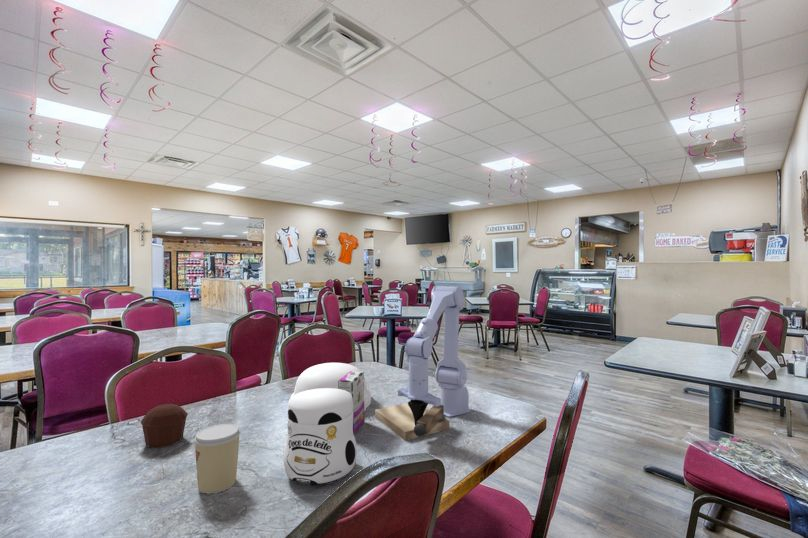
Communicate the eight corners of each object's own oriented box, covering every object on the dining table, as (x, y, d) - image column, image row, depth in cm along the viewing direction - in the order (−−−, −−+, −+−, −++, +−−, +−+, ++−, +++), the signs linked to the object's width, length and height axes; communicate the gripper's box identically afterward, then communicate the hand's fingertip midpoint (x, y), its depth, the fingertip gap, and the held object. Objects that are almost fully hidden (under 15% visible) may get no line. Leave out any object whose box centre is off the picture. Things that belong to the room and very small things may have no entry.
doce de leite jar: (287, 501, 77) (287, 415, 77) (280, 462, 92) (280, 391, 93) (365, 482, 84) (365, 404, 84) (346, 449, 99) (346, 383, 100)
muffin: (196, 435, 108) (197, 402, 108) (161, 453, 98) (161, 415, 98) (167, 430, 112) (167, 397, 112) (130, 446, 101) (130, 410, 102)
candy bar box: (350, 420, 119) (350, 370, 120) (364, 421, 118) (364, 371, 119) (337, 435, 108) (337, 379, 109) (353, 436, 107) (353, 380, 108)
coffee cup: (205, 473, 87) (206, 423, 87) (245, 472, 88) (246, 422, 88) (185, 497, 78) (186, 441, 78) (230, 495, 79) (231, 439, 79)
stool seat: (415, 408, 130) (415, 399, 130) (450, 428, 113) (450, 418, 113) (375, 417, 122) (375, 407, 122) (405, 440, 105) (405, 429, 105)
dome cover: (388, 398, 141) (388, 362, 141) (337, 426, 115) (337, 381, 115) (326, 385, 157) (326, 353, 157) (269, 407, 131) (269, 368, 131)
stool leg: (435, 413, 116) (435, 403, 116) (445, 414, 115) (445, 404, 115) (413, 435, 100) (413, 423, 100) (424, 437, 99) (424, 425, 99)
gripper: (391, 376, 108) (391, 422, 108) (430, 386, 99) (430, 436, 99) (406, 372, 114) (406, 415, 113) (444, 381, 104) (444, 428, 104)
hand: (418, 425), depth 106 cm, fingers closed
